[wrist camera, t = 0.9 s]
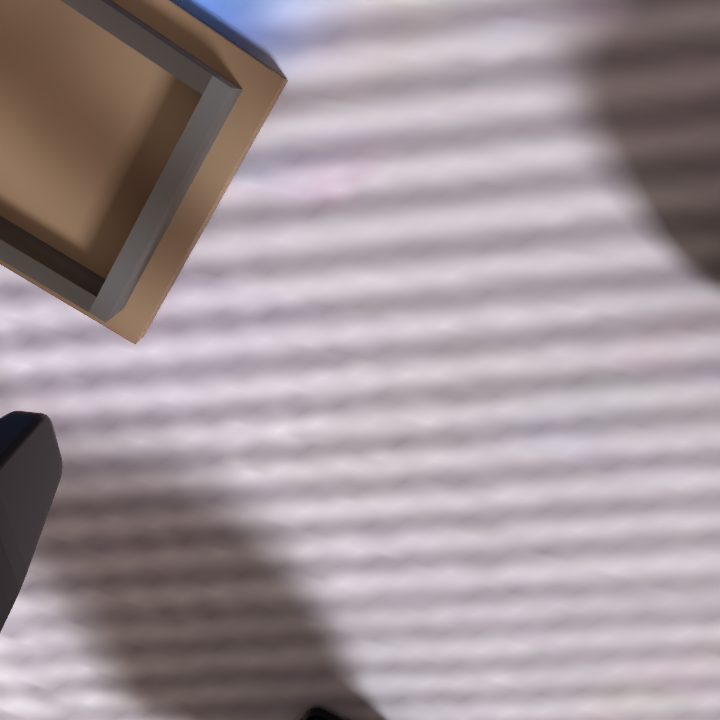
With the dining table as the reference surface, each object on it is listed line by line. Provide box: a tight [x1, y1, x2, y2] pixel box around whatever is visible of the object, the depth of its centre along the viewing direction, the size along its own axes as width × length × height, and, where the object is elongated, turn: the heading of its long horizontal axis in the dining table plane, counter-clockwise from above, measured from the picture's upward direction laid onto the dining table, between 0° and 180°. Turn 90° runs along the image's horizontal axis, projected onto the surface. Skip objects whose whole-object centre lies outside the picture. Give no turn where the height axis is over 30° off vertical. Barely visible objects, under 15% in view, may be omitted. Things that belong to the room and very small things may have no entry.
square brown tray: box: [0, 0, 288, 344], centre depth 21 cm, size 10×10×2 cm
